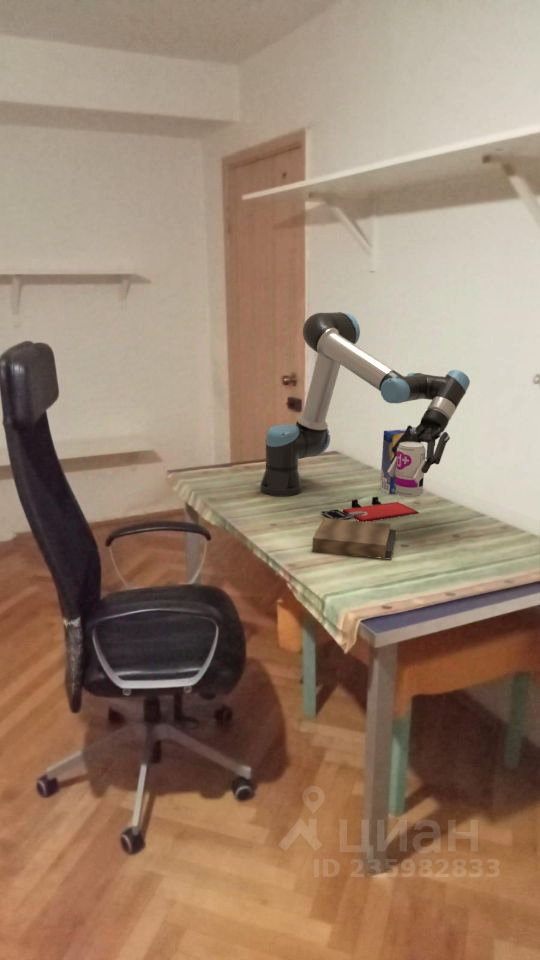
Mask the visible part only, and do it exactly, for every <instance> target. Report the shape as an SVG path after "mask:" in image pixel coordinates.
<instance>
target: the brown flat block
mask: <svg viewBox="0 0 540 960" xmlns="http://www.w3.org/2000/svg"><path fill="white" fill-rule="evenodd" d="M391 525H392V524H391V523H384V522H383V523H382V522H374V521H371V522H363V521H358V520H353V519H332V518H330V517H323V519H321V522H320V524H319V526H318V527H317V529H316V531H315V533H314V535H313V537H312V549H311V550H312V552H315V553H326V554H334V555H343V556H351V555H356V556H355V557H360V556H368V557H367V558H369V556H370V557H381V558H391V559H392V557H393V552H392V551H394V547H393V546H394V545H395V542H394V541H396V536H397V533H396V532H397V529H392V526H391ZM391 556H392V557H391Z"/></svg>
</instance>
